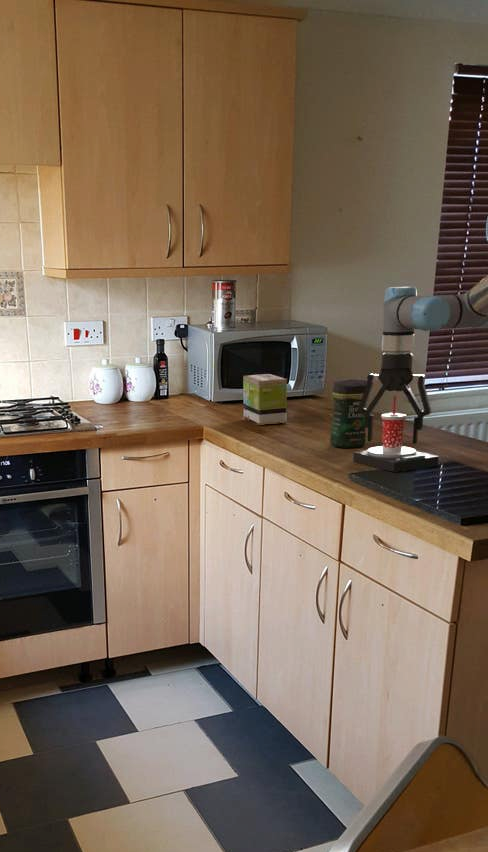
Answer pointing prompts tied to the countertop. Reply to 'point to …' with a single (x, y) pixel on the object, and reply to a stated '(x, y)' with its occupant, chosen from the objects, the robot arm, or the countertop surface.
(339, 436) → the coffee jar
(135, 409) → the countertop surface
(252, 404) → the tea box
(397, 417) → the beverage cup
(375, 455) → the kitchen scale
